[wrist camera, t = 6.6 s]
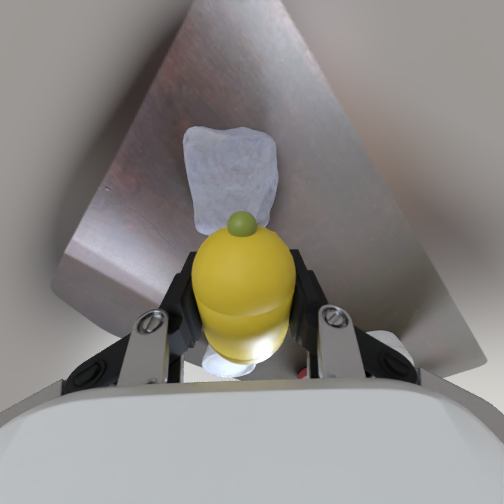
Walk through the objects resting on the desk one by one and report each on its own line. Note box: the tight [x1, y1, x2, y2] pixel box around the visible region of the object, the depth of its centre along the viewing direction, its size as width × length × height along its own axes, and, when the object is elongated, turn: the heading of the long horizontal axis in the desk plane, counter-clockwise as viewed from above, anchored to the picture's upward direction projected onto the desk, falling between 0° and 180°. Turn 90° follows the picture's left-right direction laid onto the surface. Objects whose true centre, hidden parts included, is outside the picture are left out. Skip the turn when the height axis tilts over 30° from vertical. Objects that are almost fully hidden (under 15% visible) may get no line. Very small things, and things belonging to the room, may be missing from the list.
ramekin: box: [202, 344, 256, 377], centre depth 40 cm, size 11×11×5 cm
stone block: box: [183, 126, 278, 235], centre depth 21 cm, size 12×5×10 cm
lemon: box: [191, 211, 296, 365], centre depth 10 cm, size 10×5×5 cm, turn 0°
